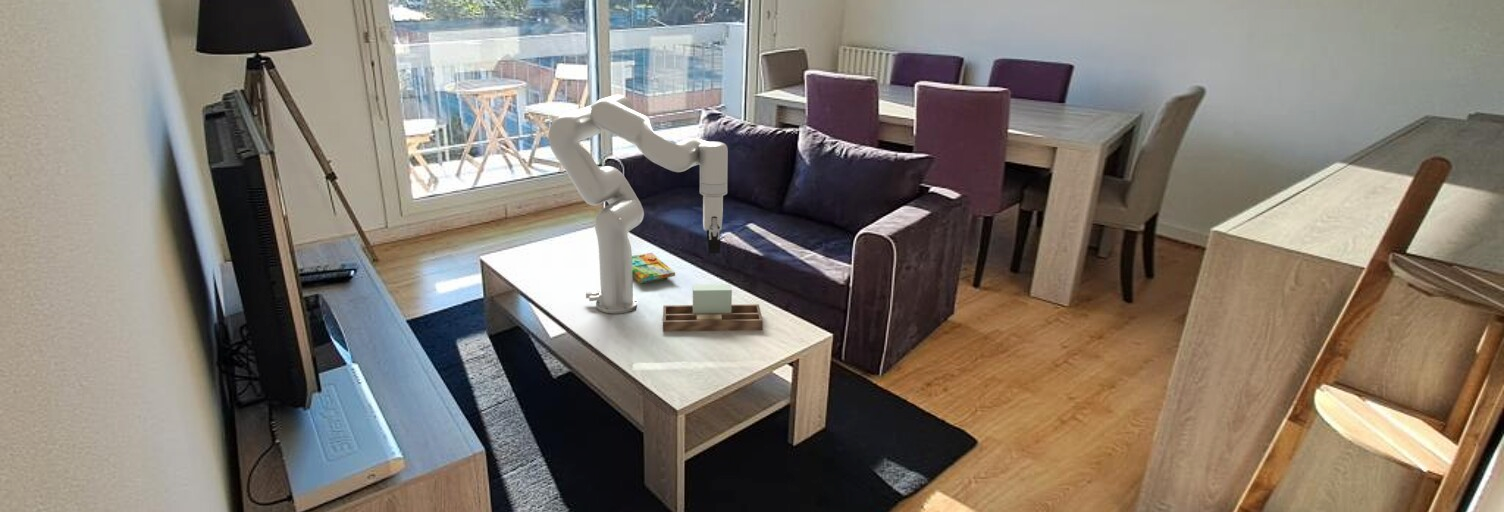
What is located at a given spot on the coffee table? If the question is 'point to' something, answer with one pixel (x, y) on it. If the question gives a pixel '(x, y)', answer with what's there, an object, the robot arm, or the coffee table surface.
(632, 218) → the robot arm
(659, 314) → the coffee table surface
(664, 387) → the coffee table surface
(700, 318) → the offcut upper
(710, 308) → the pale green block
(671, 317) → the tray
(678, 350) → the coffee table surface
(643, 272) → the puzzle game
